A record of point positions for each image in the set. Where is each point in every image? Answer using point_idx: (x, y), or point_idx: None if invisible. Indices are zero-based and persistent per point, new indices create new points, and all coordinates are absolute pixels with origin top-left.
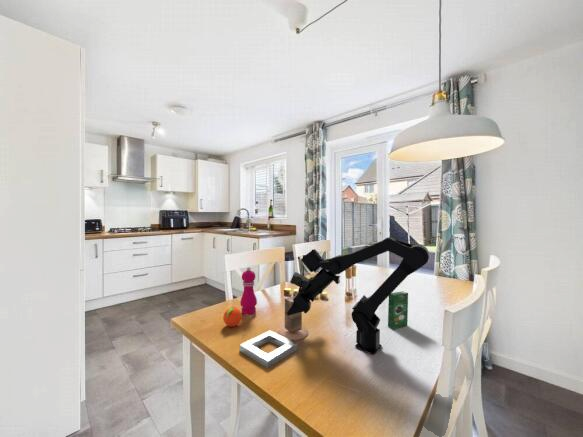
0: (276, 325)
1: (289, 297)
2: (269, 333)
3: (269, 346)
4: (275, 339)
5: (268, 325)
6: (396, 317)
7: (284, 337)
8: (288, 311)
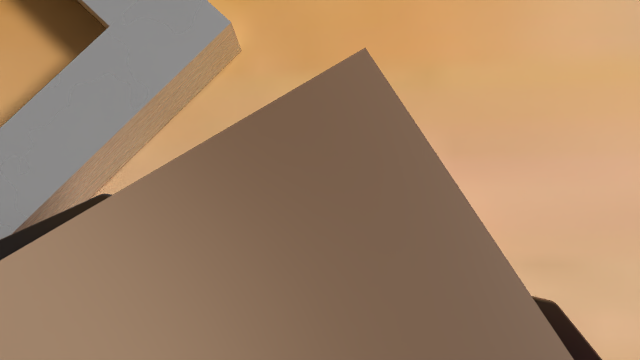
0: (500, 115)
1: (494, 254)
2: (153, 25)
3: (30, 62)
4: (37, 102)
5: (497, 23)
6: None
7: (34, 203)
8: (43, 231)
